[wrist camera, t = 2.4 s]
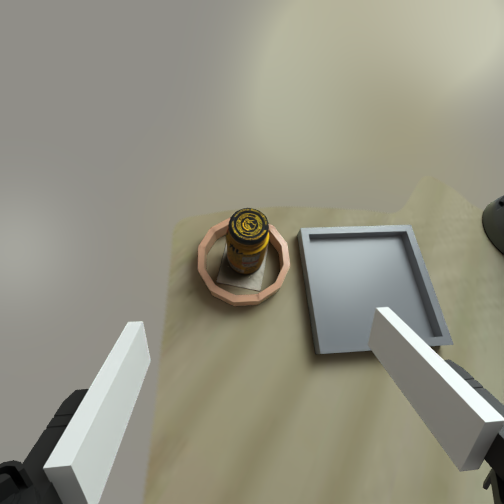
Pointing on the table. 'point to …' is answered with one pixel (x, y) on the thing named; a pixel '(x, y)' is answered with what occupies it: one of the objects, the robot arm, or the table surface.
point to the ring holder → (241, 300)
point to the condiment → (245, 250)
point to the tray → (366, 285)
